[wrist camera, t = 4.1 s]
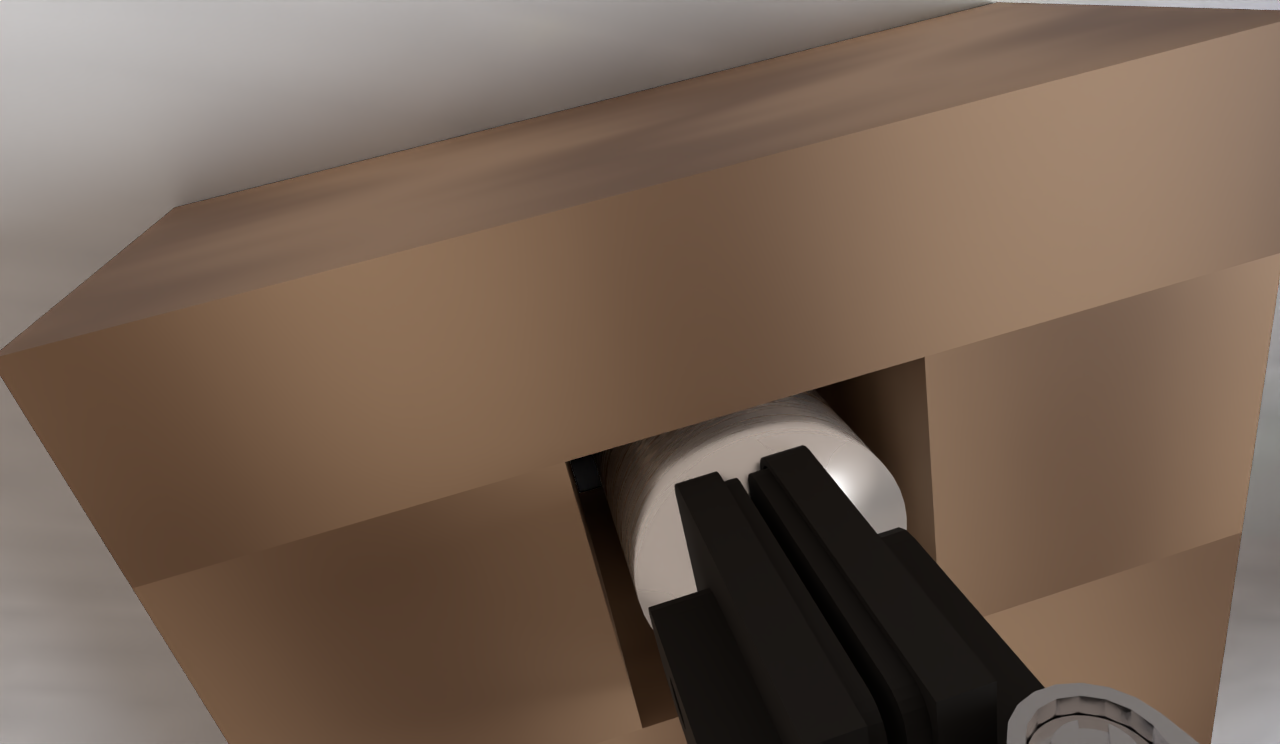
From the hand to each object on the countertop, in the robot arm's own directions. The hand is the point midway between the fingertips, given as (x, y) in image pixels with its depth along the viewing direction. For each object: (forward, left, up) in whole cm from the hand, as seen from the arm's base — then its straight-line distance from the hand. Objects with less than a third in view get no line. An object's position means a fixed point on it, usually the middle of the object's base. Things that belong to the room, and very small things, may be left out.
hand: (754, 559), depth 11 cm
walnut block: (0, +7, -6) cm, 9 cm away
